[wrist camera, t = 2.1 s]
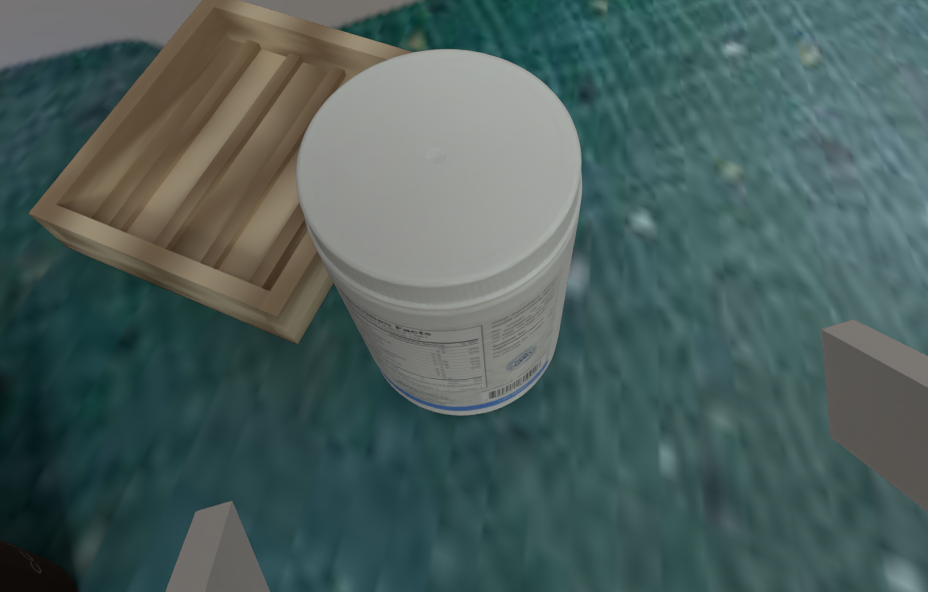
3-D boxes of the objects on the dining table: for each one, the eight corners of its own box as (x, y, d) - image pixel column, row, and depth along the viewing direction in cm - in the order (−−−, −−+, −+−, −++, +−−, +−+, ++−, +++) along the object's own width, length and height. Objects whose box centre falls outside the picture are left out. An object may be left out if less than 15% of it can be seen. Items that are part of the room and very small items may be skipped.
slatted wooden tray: (67, 247, 39) (28, 213, 36) (230, 36, 46) (209, -9, 42) (297, 344, 36) (277, 316, 33) (438, 101, 42) (433, 58, 39)
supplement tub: (402, 232, 38) (346, 20, 25) (575, 266, 37) (611, 59, 24) (345, 399, 34) (242, 251, 21) (536, 445, 33) (553, 316, 20)
